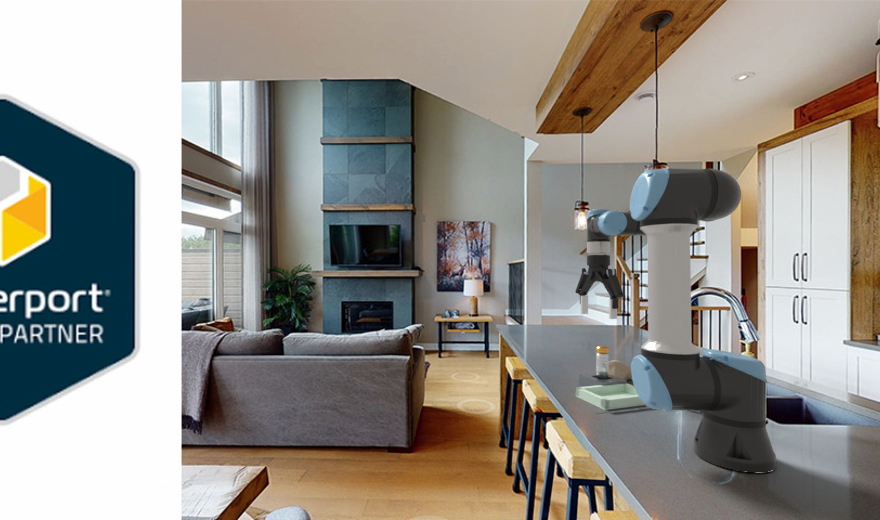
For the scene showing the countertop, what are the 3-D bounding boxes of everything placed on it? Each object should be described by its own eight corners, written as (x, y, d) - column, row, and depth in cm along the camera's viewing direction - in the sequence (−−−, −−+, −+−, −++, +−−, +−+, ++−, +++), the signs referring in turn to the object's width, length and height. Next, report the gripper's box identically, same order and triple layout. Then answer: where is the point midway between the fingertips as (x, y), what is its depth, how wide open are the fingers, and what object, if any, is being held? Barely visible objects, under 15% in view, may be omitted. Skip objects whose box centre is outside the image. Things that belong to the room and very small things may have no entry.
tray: (624, 392, 143) (624, 382, 143) (657, 404, 130) (657, 394, 130) (575, 397, 137) (575, 387, 137) (604, 411, 124) (604, 400, 124)
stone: (623, 380, 162) (637, 362, 157) (627, 393, 156) (642, 375, 151) (597, 371, 162) (611, 352, 157) (601, 384, 156) (614, 365, 151)
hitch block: (626, 392, 142) (626, 380, 142) (602, 395, 139) (602, 383, 139) (602, 383, 154) (602, 372, 154) (579, 385, 150) (579, 374, 150)
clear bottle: (611, 388, 145) (611, 347, 145) (601, 389, 144) (601, 348, 144) (602, 385, 149) (603, 345, 149) (593, 386, 148) (593, 346, 148)
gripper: (635, 254, 136) (635, 320, 136) (582, 255, 159) (581, 311, 159) (617, 253, 133) (617, 321, 133) (565, 254, 156) (565, 312, 156)
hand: (598, 316), depth 146 cm, fingers open, 13 cm apart
